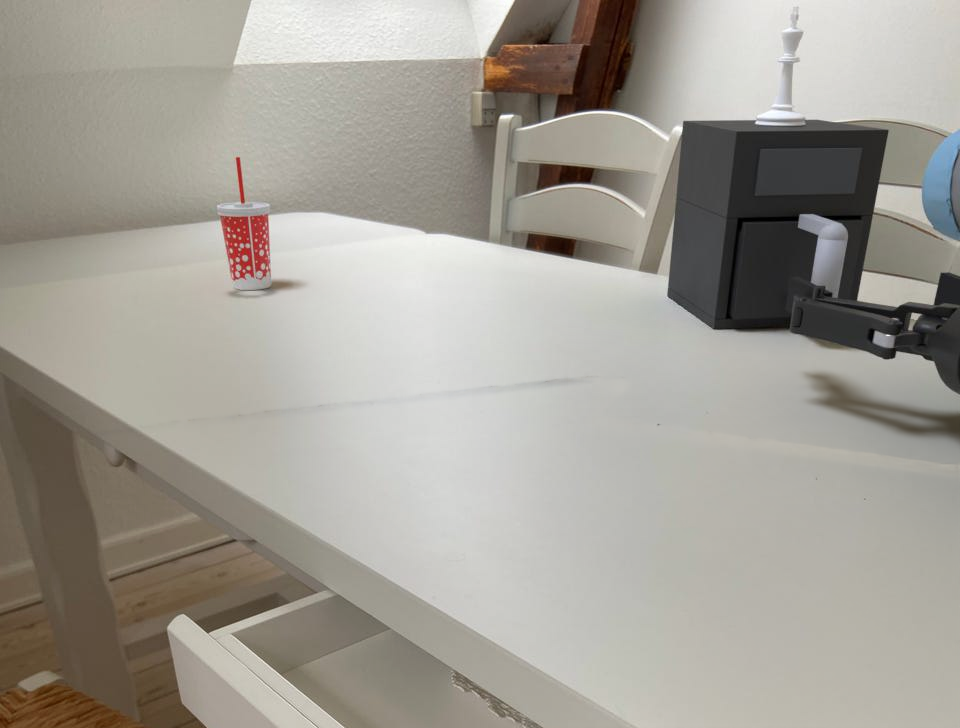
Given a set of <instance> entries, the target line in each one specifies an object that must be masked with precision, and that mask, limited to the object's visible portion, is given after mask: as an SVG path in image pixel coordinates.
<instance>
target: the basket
mask: <svg viewBox="0 0 960 728" xmlns="http://www.w3.org/2000/svg"><path fill="white" fill-rule="evenodd" d="M862 227H863V221H862V220H829V219H826V218H823V217H820V216H817V215H814V214H800V216H799V217H763V218H738V223H737V231H736V239H735V248H734V256H733V264H732V272H731V280H730V289H729V297H728V305H727V314H729V315H730V316H731V318H733V319H756V318H786V317H792V314H791V313H790V312H788V311H786V310H785V308H786V302H787V295H788V289H789V282H790V277H800V278H802V279H804V280H806V281H809V282H811V283H813V284H815V285H817V286H826V287H825V289H826V290H828V291H830V292H832V293H833V295H832V297H834V298H840V299H847V300H849V298H850V293H851V287H852V282H853V276H854V271H855V265H856V260H857V254H858V249H859V243H860V238H861V232H862Z"/></svg>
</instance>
